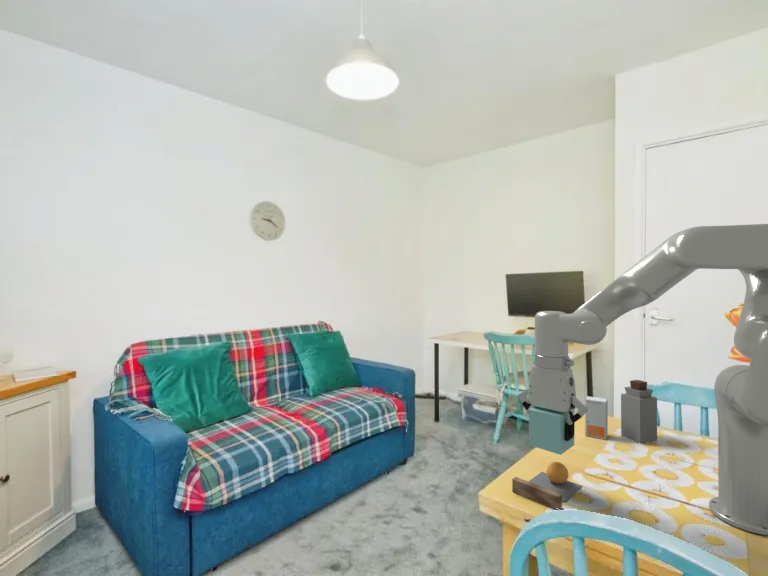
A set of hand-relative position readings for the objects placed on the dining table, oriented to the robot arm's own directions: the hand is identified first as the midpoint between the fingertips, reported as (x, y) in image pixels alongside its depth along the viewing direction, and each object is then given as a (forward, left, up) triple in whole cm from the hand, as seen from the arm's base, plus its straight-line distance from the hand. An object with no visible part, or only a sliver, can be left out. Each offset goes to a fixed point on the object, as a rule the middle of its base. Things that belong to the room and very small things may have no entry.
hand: (550, 433), depth 97 cm
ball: (0, -3, -10) cm, 11 cm away
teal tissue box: (0, 0, -3) cm, 3 cm away
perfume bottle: (-6, -48, -13) cm, 50 cm away
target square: (0, 0, -13) cm, 13 cm away
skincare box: (+4, -41, -13) cm, 43 cm away
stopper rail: (0, +8, -13) cm, 15 cm away
